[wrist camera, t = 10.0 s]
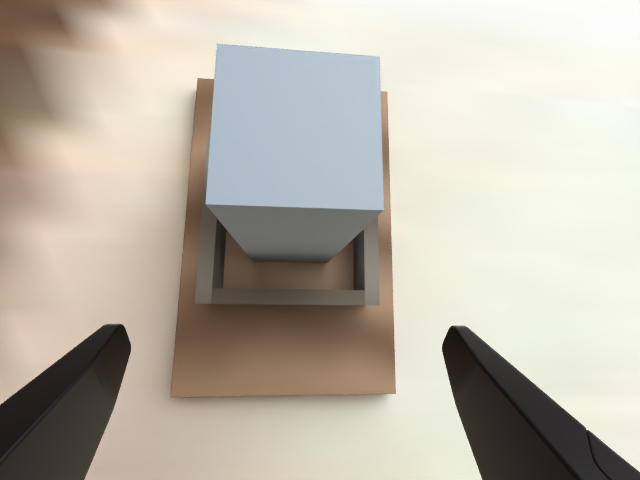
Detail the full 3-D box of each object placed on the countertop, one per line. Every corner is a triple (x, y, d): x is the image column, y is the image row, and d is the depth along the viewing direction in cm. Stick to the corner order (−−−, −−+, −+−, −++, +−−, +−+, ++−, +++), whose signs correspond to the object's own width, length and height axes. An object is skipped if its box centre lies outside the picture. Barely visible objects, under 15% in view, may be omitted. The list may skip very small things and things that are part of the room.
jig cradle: (389, 388, 21) (414, 409, 17) (177, 391, 20) (149, 414, 16) (382, 101, 25) (401, 62, 21) (202, 89, 24) (184, 44, 20)
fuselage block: (327, 263, 21) (384, 210, 9) (253, 261, 21) (205, 204, 8) (327, 192, 22) (379, 56, 10) (256, 190, 22) (217, 44, 9)
